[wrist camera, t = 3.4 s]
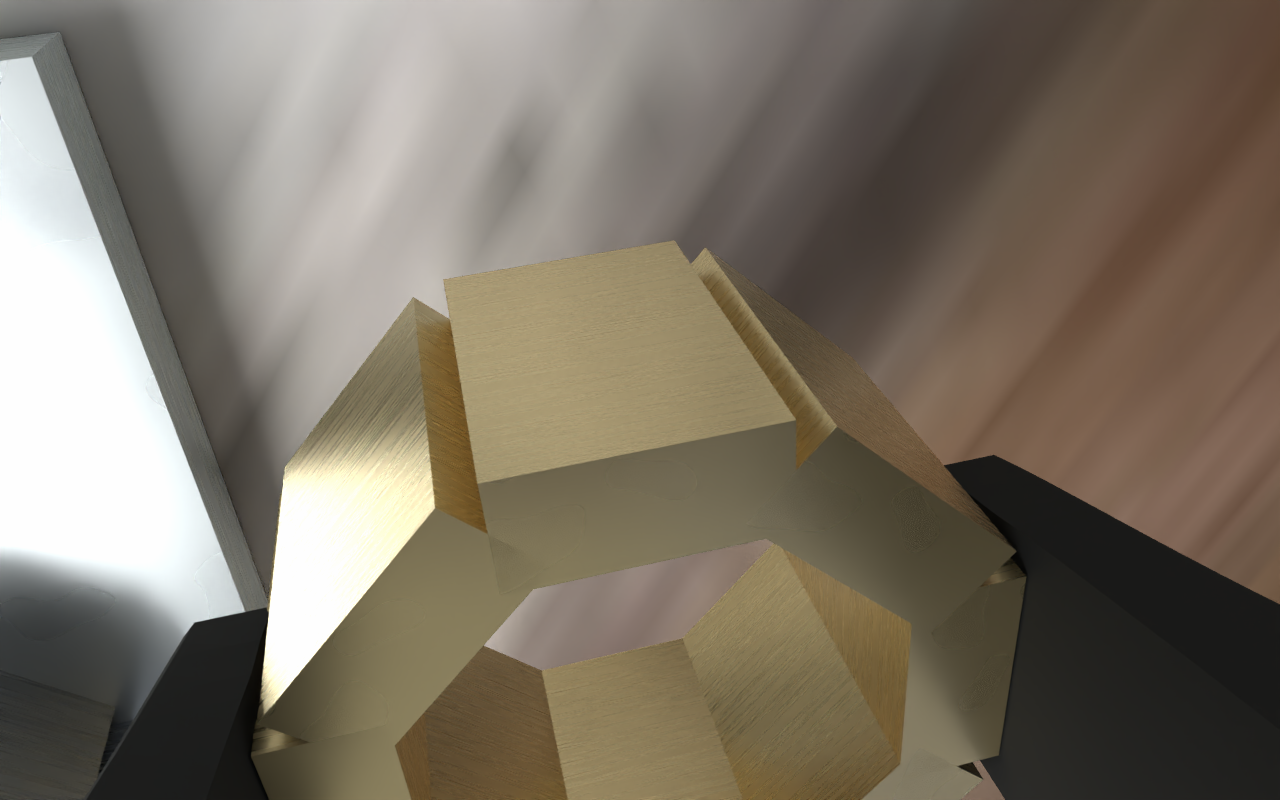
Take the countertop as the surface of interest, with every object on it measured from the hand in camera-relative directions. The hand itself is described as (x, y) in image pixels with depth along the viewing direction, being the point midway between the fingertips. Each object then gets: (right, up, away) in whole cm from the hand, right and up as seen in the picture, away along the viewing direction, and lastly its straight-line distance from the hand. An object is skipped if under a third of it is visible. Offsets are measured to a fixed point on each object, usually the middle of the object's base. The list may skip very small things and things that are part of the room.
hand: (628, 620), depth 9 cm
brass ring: (0, +1, +1) cm, 2 cm away
